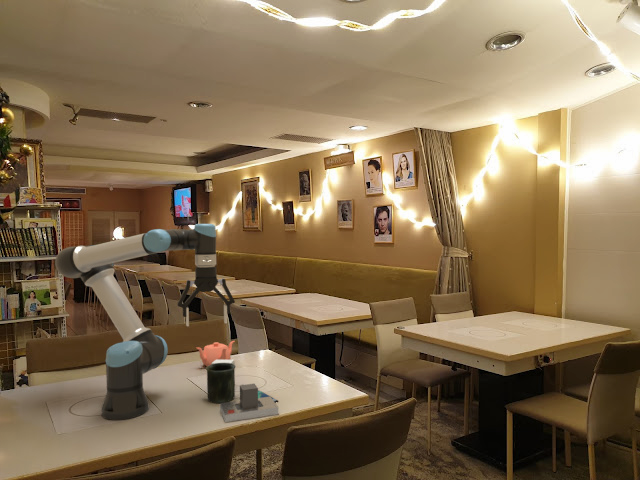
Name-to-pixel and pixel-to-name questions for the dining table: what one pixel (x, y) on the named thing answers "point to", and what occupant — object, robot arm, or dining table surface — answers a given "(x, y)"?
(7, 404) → the dining table surface
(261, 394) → the smartphone
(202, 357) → the teapot
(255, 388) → the plug
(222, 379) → the mug
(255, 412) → the socket
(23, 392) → the dining table surface
